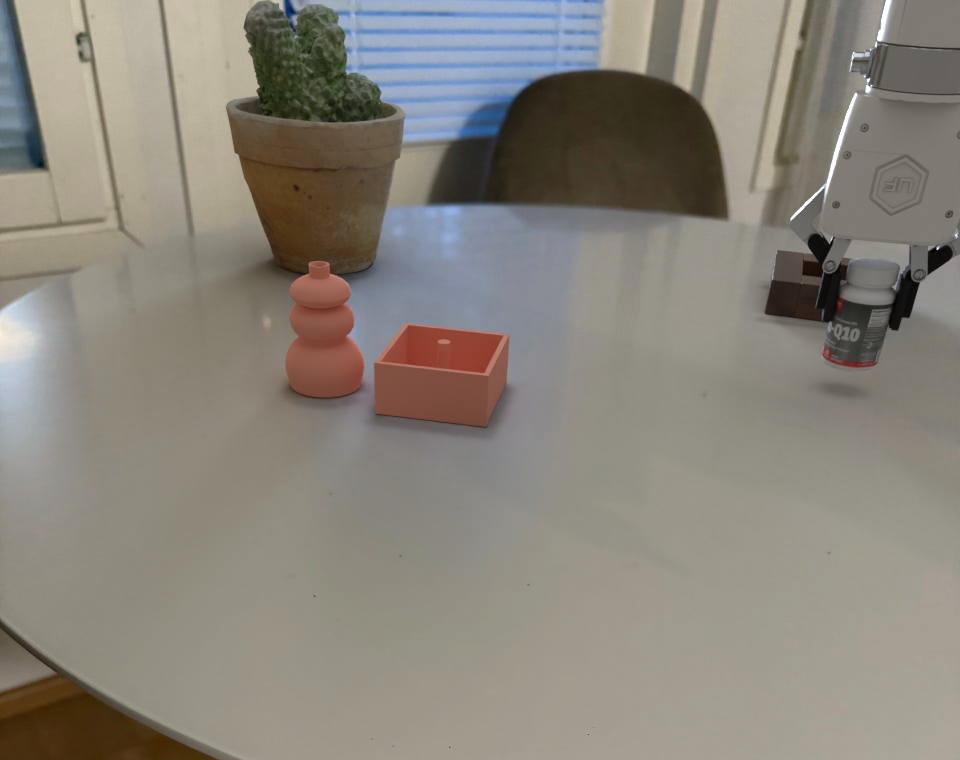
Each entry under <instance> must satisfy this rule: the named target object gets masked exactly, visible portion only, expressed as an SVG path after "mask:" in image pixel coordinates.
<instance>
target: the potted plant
mask: <svg viewBox="0 0 960 760" xmlns="http://www.w3.org/2000/svg"><path fill="white" fill-rule="evenodd" d="M339 19H340V18H339V13H338V12H335V10H334V9H333V8H331V7H328V6H326V5H324V4H322V3H311V4H306V5H305V6H303V8H301V10H299V13H298V16H297V17H296V18H295V21H296V25H294V26H293V27H291V25H290V24H291V22H292V19H291V18H288V17H287V16H286V15H285V11H284V10H283V9H281V8H280V3H279V2H277V3H276V2H273V1H271V0H261V1H260V0H259V1H257V2H256V3H254V4H253V6H251V7H250V9H249V10H248V11H247V13H246V15H245V18H244V24H243V27H242V28H243V30H244V32H245V35H244V37H245V38H246V41H247V43H248V44H249V45H250V47H248V49H247V52H248V54H249V55H250V57H251V59H252V65H253V69H254V73H255V78H256V81H257V82H256V84H257V85H258V86H259V87H257V89H256V90H255V92H256V94H257V95H254V96H247V97H241V98H235V99H232V100H230V101H228V102H227V103H226V104H225V109H226V110H225V111H226V115H227V120H228V124H229V128H230V134H231V139H232V146H233V151H234V154H236V155H238V158H239V163H240V167H241V171H242V175H243V179H244V181H245V183H246V185H247V186H248V189H249V192H250V194H251V198H252V201H253V204H254V207H255V210H256V213H257V217H258V218H259V221H260V224H261V227H262V229H263V232H264V234H265V237H266V238H267V241H268V244H269V247H270V250H271V254H272V257H273V258H274V260H275V262H276V264H277V266H278V267H280V268H282V269H284V270H286V271H290V272H293V273H297V274H303V275H307V274H309V265H308V264H309V263H310V262H314V261H324V262H328V263H329V267H330V274H332V275H336V276H338V275H343V274H351V273H356V272H360V271H364V270H366V269H368V268H369V267H370V266H372V264H373V263H374V261H375V260H376V259H377V254H378V249H379V244H380V240H381V234H382V229H383V224H384V219H385V216H386V212H387V207H388V204H389V201H390V200H389V199H390V195H391V191H392V185H393V180H394V175H395V174H394V173H395V169H396V168H395V167H396V161H397V160H398V159H400V158H401V154H402V148H403V141H404V132H405V131H404V129H405V119H406V116H407V111H406V110H405V109H404V108H401V107H400V106H399V105H398V104H394V103H392V102H389V101H385V100H381V95H382V91H381V89H380V87H379V85H378V84H377V83H375V82H374V81H372V80H371V79H369V78H368V77H367V76H366V75H364V74H360V73H359V72H349V73H348V72H347V70H346V68H347V64H348V63H347V62H348V53H347V49H346V45H345V40H346V37H347V35H346V32H345V31H344V29H343V28H342V26H340V25H339V24H338V23H339ZM294 30H295V31H294ZM295 36H297V37H295Z"/></svg>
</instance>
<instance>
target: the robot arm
mask: <svg viewBox="0 0 960 760" xmlns="http://www.w3.org/2000/svg"><path fill="white" fill-rule="evenodd" d="M878 29H879V30H878V35H877V38H876V39H877V40H875V44H874V46H870V48H869V49H864V51H858V50H857V51H856V50H854V51H853V53H852V56H851V62H850V67H849V73H859V75H861V76H862V75H863V77H864V79H866V82H867V83H866V87H865V88H860V89H857V90H856V92H855V93H854V94H853V97H852V100H851V102H850V104H849V107H848V110H847V112H846V114H845V118H844V121H843V125H842V128H841V130H840V134H839V136H838V138H837V139H838V140H837V142H836V146H835V150H834V152H833V156H832V160H831V162H830V163H831V164H830V167H829V172H828V174H827V175H828V176H827V178H826V182H825V183H824V184H823V185H822V186H821V187H820V188H819V189H818V190H817V191H816V192H815V193H814V194H813V195H812V196H811V197H810V198H809V199H808V200H807V201H806V202H805V203H804V204H803V205H802V206H801V207H800V208H799V209H798V210H797V211H796V212H794V214H793V215H792V216H791V217H790V220H789V228H790V230H791V231H792V232H794V234H795V235H796V236H797V237H798V238H799V239H800V240H801V241H802V242H804V244H805V245H806V246H807V247H808V249H809V251H810V252H811V254H813V255H814V256H815V258H816V259H817V260H818V262H819V263H820V265H821V266H822V268H823V275H822V279H821V284H820V288H819V293H818V297H817V301H816V308H817V309H823V310H822V321H821V323H822V324H829V322H831V320H832V316H833V311H834V307H835V303H836V299H837V295H838V291H839V287H840V283H841V278H842V268H841V260H842V258H844V256H845V254H846V253H847V251H848V249H849V247H850V245H851V243H852V241H862V242H863V241H864V242H873V243H885V244H895V245H906V246H908V264H907V265H906V266H905V268H904V270H903V271H902V273H900V272H899V275H898V280H897V282H896V285H895V286H896V287H895V289H894V290H895V291H896V300H895V304H894V307H893V311H892V314H891V318H890V321H889V325H888V329H890V330H891V331H896V332H898V331H899V329H900V327H901V323H902V319H910V318H911V316H912V312H913V308H914V305H915V301H916V298H917V294H918V292H919V287H920V284H921V282H923V281H924V280H926V279H927V277H928V276H930V274H932V273H934V272H935V271H937V270H938V269H939V268H941V267H942V266H944V265H945V264H946V263H948V262H949V261H951V259H953V258H954V257H957V256H960V0H885V4H884V7H883V12H882V16H881V20H880V24H879V28H878ZM819 214H820V215H819ZM817 216H819V222H820V223H819V224H820V227H821V230H822V231H824V232H825V234H827V235H829V236H831V238H830V240H829V241H828V239H827V238H826V236H825V235H824V234H823V232H822V231H820V230H819V229H818V228H817V227H816V225H815V224H814V223H813V221H814V219H815V218H816V217H817ZM955 232H956V233H955ZM929 247H931V248H930V249H929Z"/></svg>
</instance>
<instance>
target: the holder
mask: <svg viewBox="0 0 960 760" xmlns="http://www.w3.org/2000/svg"><path fill="white" fill-rule="evenodd" d="M852 259H853V258H850V257H843V258H842V260H841V268H842V278H841V283H840V285H841V284H842V283H844V282H846V281H847V280H846V279H845V276H846V273H847V269H848V265H849V262H850V261H851V260H852ZM822 275H823V268H822V266H821V265H820V263H819V262H818V260H817V259H816V258H815V256H814V255H813V253H807V252H799V251H790V250H783V249H777V250H776V251H775V256H774V261H773V265H772V269H771V275H770V279H769V284H768V290H767V295H766V302H765V308H764V314H767V315H775V316H782V317H790V318H793V317H794V318H797V319H805V320H812V321H820V322H822V310H823V309H817V308H816V301H817V297H818V293H819V288H820V284H821V279H822Z"/></svg>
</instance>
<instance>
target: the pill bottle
mask: <svg viewBox="0 0 960 760" xmlns="http://www.w3.org/2000/svg"><path fill="white" fill-rule="evenodd" d="M851 259H852V260H851V261H850V262H849V265H848V269H847V273H846V276H845V279H846V280H847V281H846V282H844V283H842V284H841V285H840V287H839V291H838V295H837V299H836V303H835V307H834V311H833V316H832V320H831V322H828V326H827V330H826V333H825V338H824V342H823V346H822V350H821V355H820V359H821V361H822V363H824V364H825V365H827V366H828V367H830V368H832V369H835V370H838V371H842V372H843V371H844V372H849V373H850V372H851V373H852V372H853V373H862V372H868V371H872V370H873V369H875V368H876V367H877V365H878V364H879V360H880V356H881V353H882V349H883V346H884V342H885V339H886V335H887V333H888V329H889V321H890V318H891V314H892V311H893V307H894V304H895V300H896V291H895V290H896V289H895V288H894V286H896V285H897V283H898V279H899V276H900V270H901V265H900V264H899V263H897V262H895V261H893V260H890V259H885V258H880V257H871V256H870V257H869V256H867V257H865V256H864V257H863V256H861V257H856V258H851Z"/></svg>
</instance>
